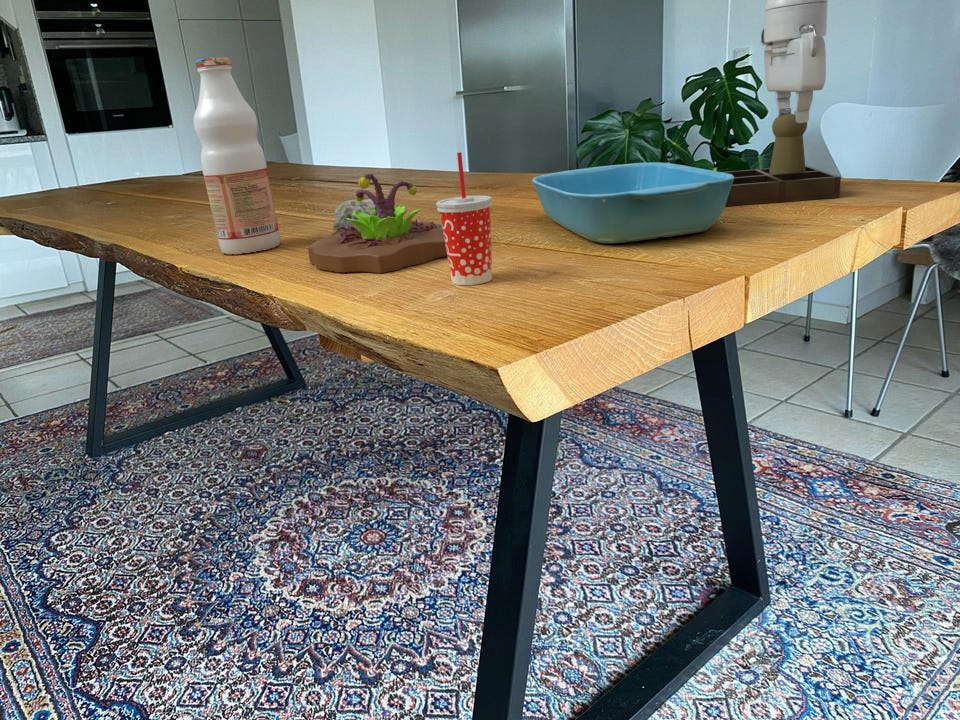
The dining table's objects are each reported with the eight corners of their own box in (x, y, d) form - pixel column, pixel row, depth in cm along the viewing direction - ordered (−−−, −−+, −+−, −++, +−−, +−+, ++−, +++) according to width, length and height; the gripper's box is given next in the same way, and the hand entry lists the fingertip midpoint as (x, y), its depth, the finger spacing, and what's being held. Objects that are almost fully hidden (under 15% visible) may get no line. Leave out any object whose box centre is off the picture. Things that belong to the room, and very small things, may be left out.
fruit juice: (208, 256, 114) (164, 62, 104) (241, 243, 122) (203, 62, 112) (262, 254, 111) (222, 54, 101) (292, 241, 119) (258, 56, 110)
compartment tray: (806, 183, 125) (807, 165, 124) (839, 197, 110) (841, 176, 109) (706, 191, 127) (706, 173, 126) (725, 206, 112) (725, 185, 111)
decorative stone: (321, 229, 129) (316, 200, 127) (379, 219, 133) (375, 191, 131) (342, 237, 118) (337, 206, 117) (404, 226, 123) (400, 196, 121)
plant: (283, 267, 100) (267, 183, 96) (383, 238, 114) (373, 164, 110) (388, 278, 88) (375, 183, 84) (486, 243, 102) (479, 161, 98)
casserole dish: (522, 215, 122) (519, 171, 119) (651, 200, 124) (650, 156, 122) (586, 259, 87) (584, 198, 85) (763, 236, 90) (765, 177, 88)
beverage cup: (444, 276, 86) (430, 153, 81) (496, 270, 86) (485, 147, 82) (445, 289, 80) (430, 157, 76) (501, 283, 81) (489, 151, 76)
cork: (762, 183, 124) (764, 115, 121) (798, 180, 124) (802, 112, 120) (774, 188, 119) (777, 116, 115) (812, 184, 118) (816, 113, 114)
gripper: (840, 19, 103) (835, 122, 108) (797, 29, 122) (794, 116, 127) (792, 25, 104) (790, 126, 109) (757, 34, 123) (756, 121, 128)
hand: (792, 121), depth 118 cm, fingers open, 8 cm apart
